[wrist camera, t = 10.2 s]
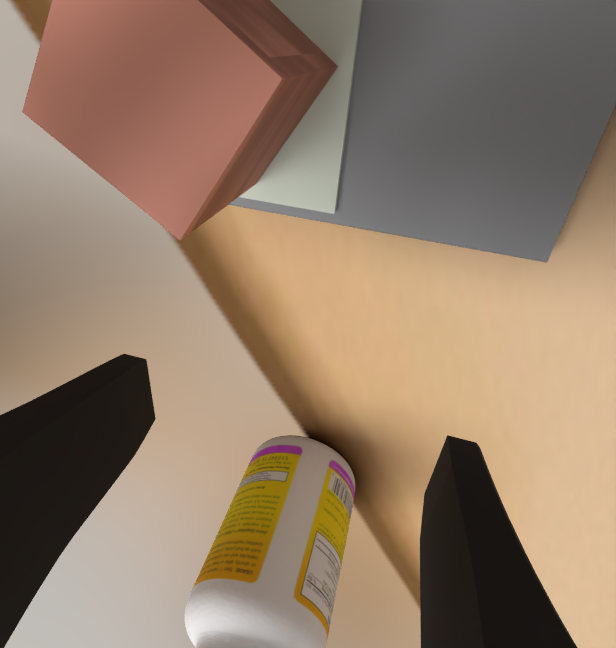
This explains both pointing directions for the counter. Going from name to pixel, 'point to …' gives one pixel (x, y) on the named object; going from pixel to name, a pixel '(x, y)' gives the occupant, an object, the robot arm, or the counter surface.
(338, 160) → the board
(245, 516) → the supplement bottle
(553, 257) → the counter surface
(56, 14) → the rimmed copper cube
